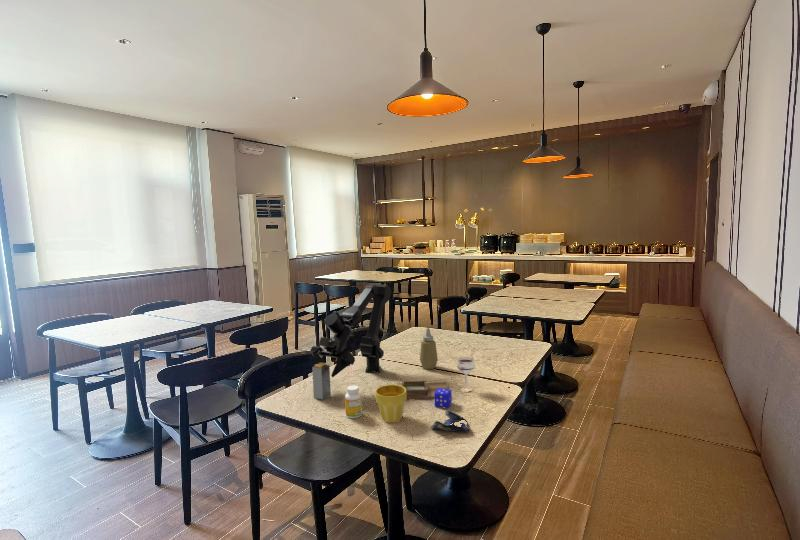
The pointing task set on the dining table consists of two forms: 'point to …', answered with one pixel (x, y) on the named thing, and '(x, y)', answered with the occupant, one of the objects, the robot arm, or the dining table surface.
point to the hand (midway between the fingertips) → (322, 374)
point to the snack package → (453, 418)
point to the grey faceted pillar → (321, 381)
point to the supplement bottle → (353, 402)
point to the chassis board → (422, 389)
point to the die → (443, 398)
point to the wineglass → (466, 366)
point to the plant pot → (391, 402)
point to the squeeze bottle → (428, 351)
